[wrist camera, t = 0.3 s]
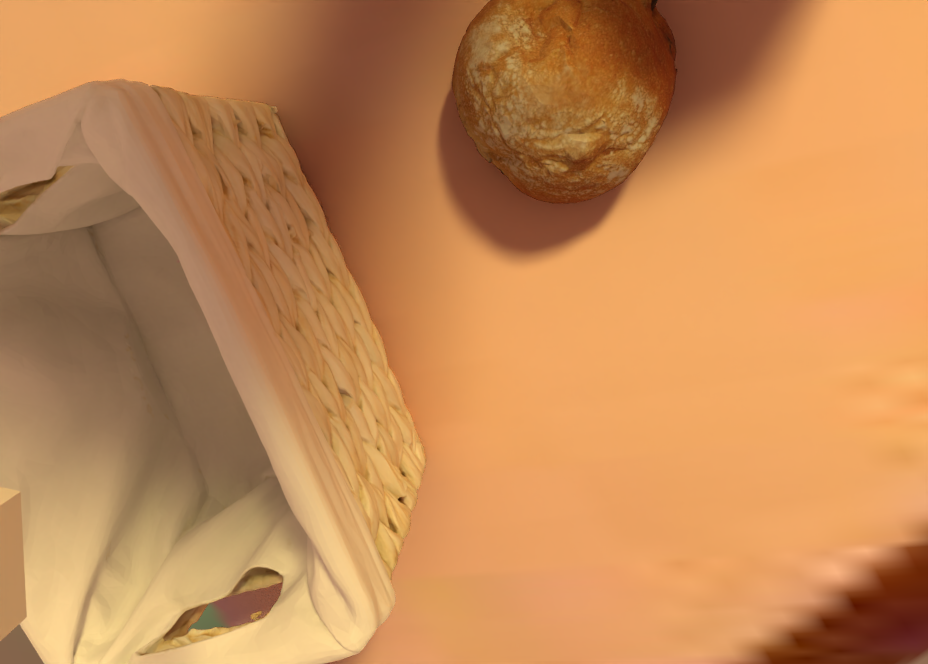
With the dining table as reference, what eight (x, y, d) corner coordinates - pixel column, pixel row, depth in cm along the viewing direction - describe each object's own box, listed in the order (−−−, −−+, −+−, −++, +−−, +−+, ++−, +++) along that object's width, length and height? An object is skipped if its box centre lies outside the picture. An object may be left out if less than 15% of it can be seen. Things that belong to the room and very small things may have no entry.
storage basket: (456, 478, 43) (392, 661, 29) (220, 544, 47) (65, 731, 33) (284, 69, 38) (104, 54, 24) (34, 183, 42) (-243, 227, 28)
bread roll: (456, 75, 40) (384, 134, 34) (566, -106, 33) (498, -69, 27) (599, 193, 41) (552, 270, 35) (739, 41, 33) (707, 107, 28)
